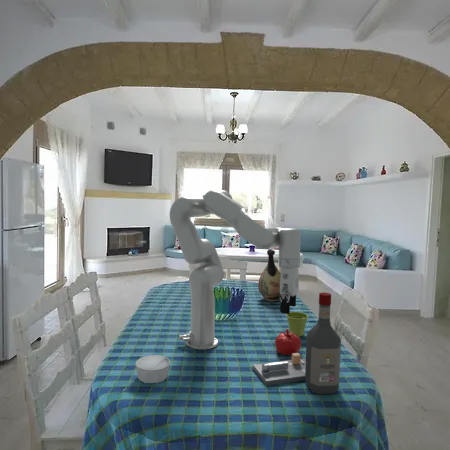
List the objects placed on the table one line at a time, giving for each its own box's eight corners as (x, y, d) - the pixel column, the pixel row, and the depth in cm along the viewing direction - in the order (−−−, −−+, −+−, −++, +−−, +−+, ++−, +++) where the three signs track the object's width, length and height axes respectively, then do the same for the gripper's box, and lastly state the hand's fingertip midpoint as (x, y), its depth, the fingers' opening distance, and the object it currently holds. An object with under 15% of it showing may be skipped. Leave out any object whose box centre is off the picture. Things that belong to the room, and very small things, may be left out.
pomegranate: (298, 360, 138) (299, 336, 137) (272, 355, 142) (272, 331, 141) (302, 349, 147) (303, 326, 146) (277, 345, 151) (278, 322, 150)
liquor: (341, 394, 114) (345, 297, 112) (311, 395, 114) (315, 298, 111) (330, 379, 123) (334, 290, 121) (303, 380, 123) (306, 290, 120)
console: (266, 385, 119) (266, 379, 119) (252, 368, 130) (252, 362, 130) (322, 377, 124) (322, 371, 124) (304, 362, 136) (304, 356, 136)
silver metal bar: (263, 373, 123) (263, 366, 123) (260, 369, 125) (260, 363, 125) (289, 369, 126) (289, 363, 125) (285, 366, 128) (286, 360, 128)
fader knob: (294, 364, 130) (294, 355, 130) (291, 361, 132) (291, 353, 132) (300, 363, 131) (300, 354, 131) (297, 361, 133) (298, 352, 133)
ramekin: (172, 383, 119) (172, 367, 119) (136, 388, 116) (136, 371, 116) (167, 368, 130) (167, 353, 129) (134, 371, 127) (134, 356, 126)
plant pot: (307, 339, 158) (308, 319, 157) (285, 337, 159) (285, 317, 159) (307, 331, 167) (308, 312, 166) (286, 329, 169) (286, 311, 168)
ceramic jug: (258, 295, 226) (259, 246, 224) (284, 296, 224) (285, 247, 222) (256, 303, 210) (258, 250, 207) (284, 304, 207) (286, 251, 205)
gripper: (294, 267, 125) (293, 317, 126) (304, 259, 141) (303, 304, 142) (272, 265, 128) (271, 315, 129) (285, 258, 144) (284, 302, 145)
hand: (288, 309), depth 135 cm, fingers open, 9 cm apart
